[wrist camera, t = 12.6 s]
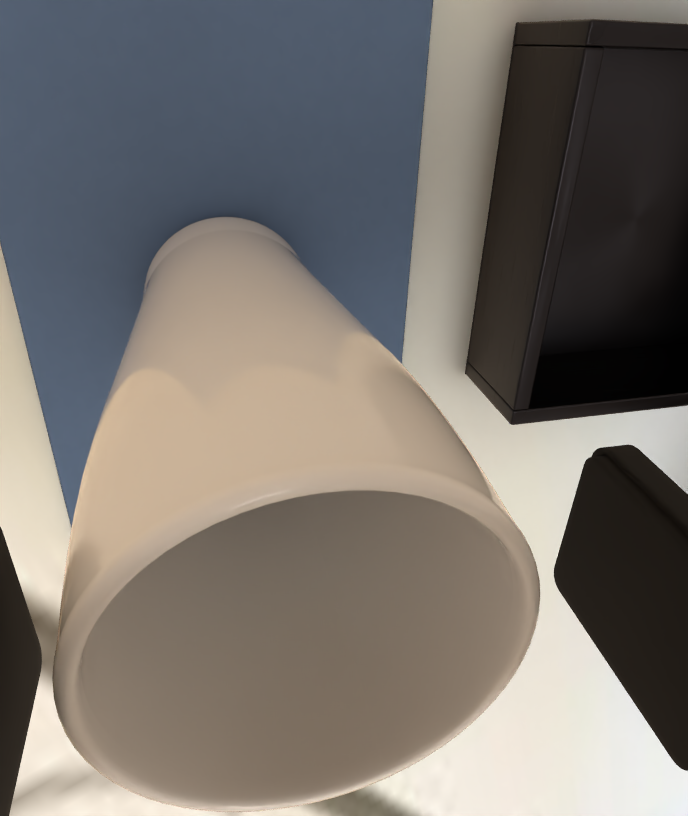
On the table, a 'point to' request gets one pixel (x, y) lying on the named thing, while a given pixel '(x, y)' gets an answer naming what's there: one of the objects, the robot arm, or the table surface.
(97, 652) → the drinking glass
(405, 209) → the cloth
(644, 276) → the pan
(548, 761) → the table surface
